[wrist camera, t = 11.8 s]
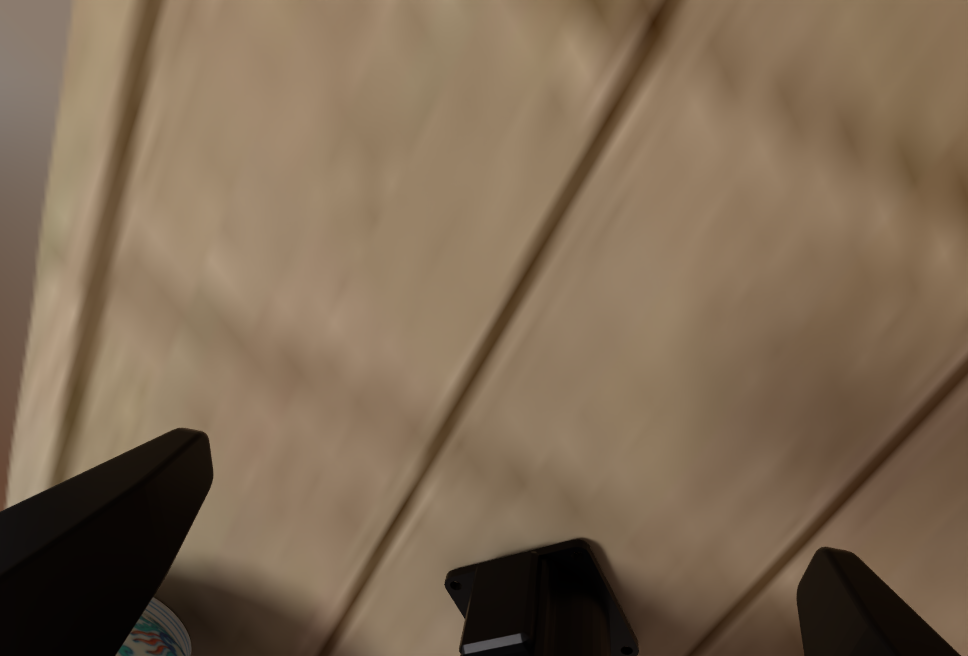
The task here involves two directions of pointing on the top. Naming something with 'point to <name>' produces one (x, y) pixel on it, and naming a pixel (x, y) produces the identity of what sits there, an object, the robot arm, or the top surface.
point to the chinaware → (157, 634)
